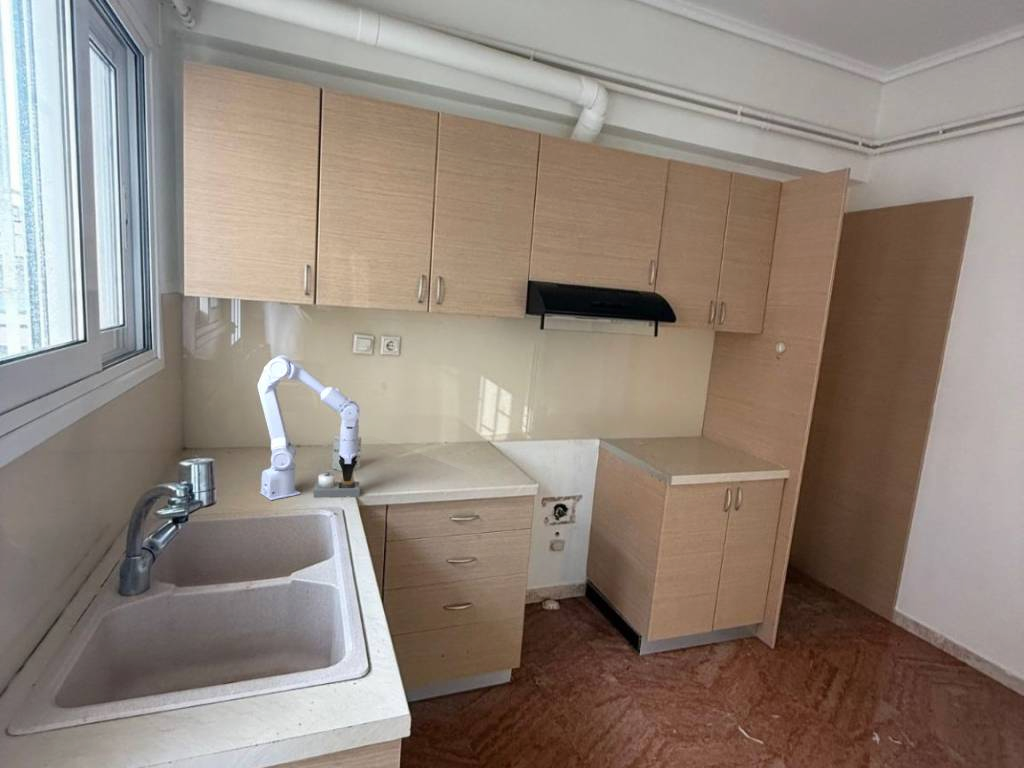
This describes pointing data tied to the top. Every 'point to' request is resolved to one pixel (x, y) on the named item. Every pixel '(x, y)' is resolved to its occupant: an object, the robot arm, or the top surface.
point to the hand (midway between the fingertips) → (347, 478)
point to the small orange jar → (347, 481)
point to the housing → (334, 487)
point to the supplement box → (336, 455)
